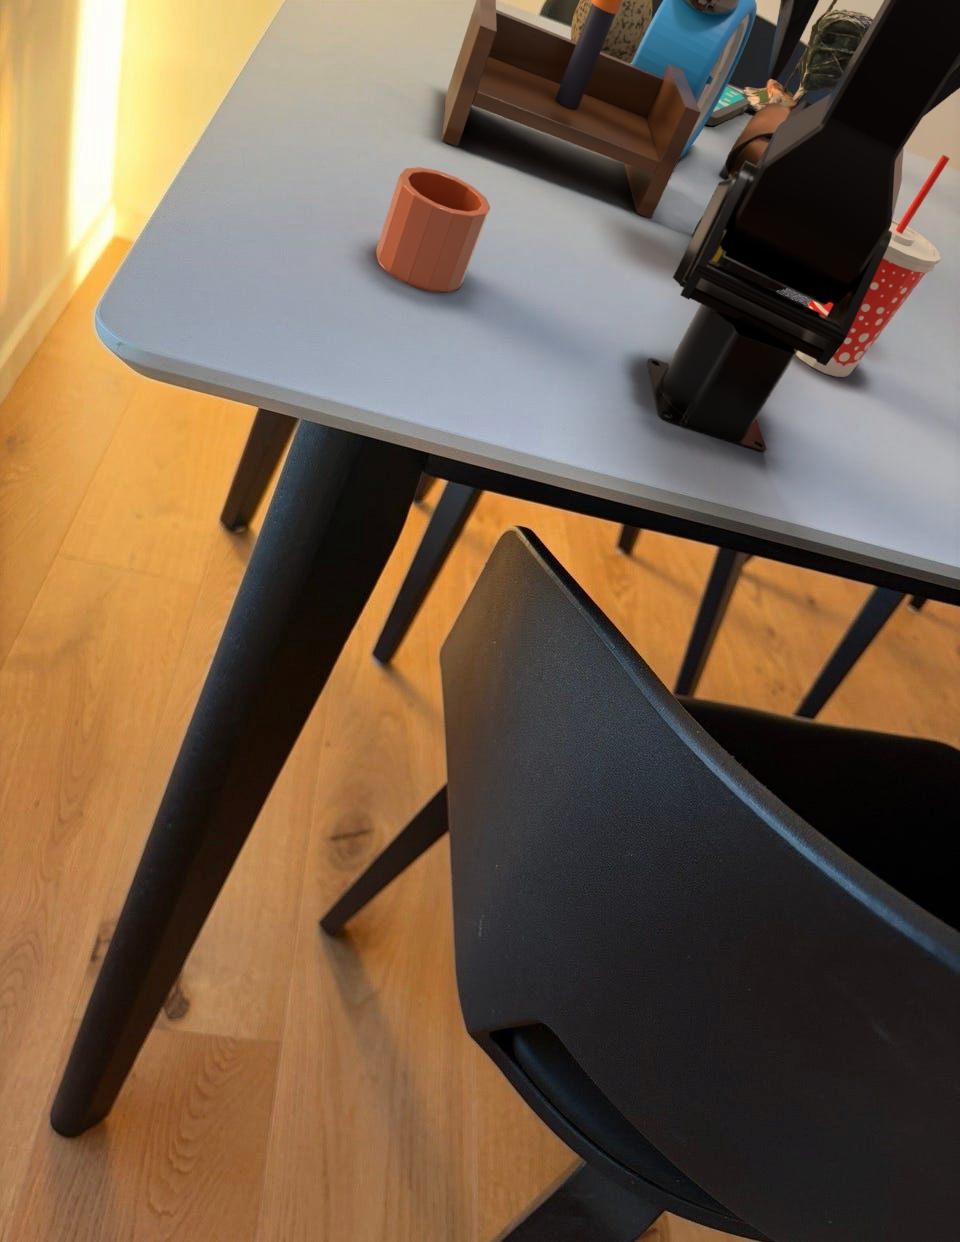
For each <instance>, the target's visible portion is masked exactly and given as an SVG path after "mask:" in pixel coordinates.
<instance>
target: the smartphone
mask: <svg viewBox="0 0 960 1242" xmlns="http://www.w3.org/2000/svg"><path fill="white" fill-rule="evenodd" d="M743 96H744V93H743V92H742V91H739V90H737V89H735V88H734V87H732V86H730V85H728V84H727V86H726V88H725V90H724V92H723V94H722V96H721V98H720V100H719V102H718V103H717V105H716V107H715V109H714V111H713V112H712V114H711V116H710V118H709V119H708V121H707V123H706V124H705V125H708V126H712V127H713V126H717V125H719V124H721V123H723V122H725V121H727V120H729V119H731V118H733V117H735V116H738V115H740V114H742V113H744V112H746V111H748V109H749V108H750V107H751V105H750V103H751V101H749V100H747V99H746V98H744V97H745V96H744V97H743Z"/></svg>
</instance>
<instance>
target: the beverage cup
mask: <svg viewBox="0 0 960 1242" xmlns="http://www.w3.org/2000/svg"><path fill="white" fill-rule="evenodd" d="M949 161H950V157H949V156H946V155H944V154H942V155H941V157H940V159H939V160H938V162H937V163H936V165H935V166H934V167H933V170H932V171H931V173H930V174H929V175H928V178H927V179H926V181H925V182H924V184H923V185H922V187H921V188H920V190H919V192H918V193H917V194H916V196H915V198H914V200H913V201H912V203H911V204H910V206H909V207H908V209H907V211H906V212H905V214H904V215H903V217H902V219H901V220H900V221H898V220H896V219H894V218H893V219H892V223H891V226H890V229H889V230H890V231H891V232H892V237H891V240H890V243H889V245H888V247H887V250H886V252H885V254H884V256H883V259H882V261H881V263H880V265H879V267H878V270H877V272H876V274H875V276H874V278H873V280H872V283H871V285H870V287H869V289H868V291H867V294H866V296H865V298H864V300H863V302H862V304H861V307H860V309H859V311H858V313H857V315H856V318H855V320H854V322H853V324H852V326H851V329H850V331H849V333H848V335H847V337H846V339H845V341H844V342H843V344H842V345H841V346H840V348H839V349H838V350H837V352H836V353H835V354H834V356H833V357H832V358H831V360H830V361H829V362H828V364H827V365H826V366H824V365H822V364H820V363H818V362H816V359H814V358H812V357H810V356H808V355H806V354H804V353H802V352H800V351H798V352H797V353H796V355H795V356H797V357H798V358H799V360H801V361H803V362H804V363H805V364H807V365H808V366H809V367H811V368H813V369H815V370H817V371H819V372H821V373H823V374H826V375H829V376H833V377H836V378H846V377H848V376H850V375H851V373H852V372H853V371H854V370H855V368H856V367H857V365H858V364H859V363H860V361H861V360H862V359H863V357H864V356H865V354H866V353H867V352H868V351H869V350H870V348H871V347H872V345H873V344H874V343H875V341H876V340H877V339H878V337H880V335H881V334H882V332H883V331H884V329H885V328H886V327H887V325H888V324H889V323H890V322H891V320H892V319H893V318H894V316H895V315H896V313H897V312H898V310H900V308H901V307H902V305H904V303H905V301H906V300H907V299H908V297H909V296H910V295H911V294H912V292H913V291H914V290H915V288H916V287H917V285H918V284H919V283H920V282H921V280H922V279H923V277H924V276H925V275H926V274H928V273H930V272H932V271H934V268H935V266H936V265H938V264H939V263H940V262H941V260H942V257H941V252H940V251H939V250H938V249H937V248H936V246H935V245H934V244H933V243H932V242H930V240H928V239H926V238H925V237H924V236H923V235H922V234H920V233H919V232H917V231H915V230H914V229H912V228H910V227H909V224H910V222H911V220H913V217H914V216H915V214H917V211H918V210H919V208H920V206H921V205H922V203H923V202H924V200H925V199H926V197H927V195H928V194H929V192H930V191H931V189H932V188H933V186H934V185H935V183H936V181H937V180H938V178H939V177H940V175H941V174H942V172H943V171H944V170H945V167H946V166H947V164H948V162H949ZM806 306H807V307H809V308H811V309H813V310H815V311H817V312H819V313H821V314H824V315H826V316H827V315H828V313H829V311H830V310H831V308H832V306H833V303H831V302H829V303H827V304H826V305H824V306H823V305H821V304H819V303H817V302H815V301H813V300H811V299H810V300H809V303H808V305H806Z"/></svg>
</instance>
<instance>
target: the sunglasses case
mask: <svg viewBox="0 0 960 1242" xmlns="http://www.w3.org/2000/svg"><path fill="white" fill-rule="evenodd" d="M788 114H789V111H788V110H787V109H786V108H785V107H784V106H783V105H781V104H780V103H776V102H775V103H770V104H768V105H766V106H764V107H762V108H761V109H760V110H759V111H758V110H757V112H756V113H754V115H753V116H752V117H751V118H750V120H749V121H748V123H747V124H746V126H745V127H744V128H743V130H742V132H741V133H740V135H739V136H738V138H737V139H736V141H735V142H734V144H733V146H732V147H731V150H729V153H728V155H727V158H726V160H725V168H726V174H727V175H726V176H727V178H728V179H730V178H732V177H733V175H734V173H735V172H738V173H739V171H740V169H741V167H742V165H743V164H744V162H745V161H748V162H750V163H752V164H754V165H756V166H757V164H758V162H759V160H760V158H761V156H762V155H763V153H764V151H765V149H766V147H767V145H768V144H769V142H770V140H771V138H772V136H773V135H774V133H775V131H776V129H777V127H778V126H779V125H780V124H781V123H782V122H783V121H785V119H786V118H787V116H788Z"/></svg>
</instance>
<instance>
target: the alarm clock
mask: <svg viewBox="0 0 960 1242" xmlns="http://www.w3.org/2000/svg"><path fill="white" fill-rule="evenodd" d="M757 11H758V7H757V2H756V0H662V2H661V3H660V5H659V6H658V9H657V10H656V12H655V14H654V16H652V19H651V23H650V25H649V27H648V29H647V31H646V33H645V35H644V37H643V39H642V41H641V43H640V45H639V47H638V50H637V52H636V54H635V56H634V59H633V61H632V62H631V63H630V64H632V65H635V66H637V67H640V68H642V69H645V70H647V71H650V72H652V73H655V74H657V75H659V76H662V77H663V74H664V72H665V70H666V68H667V65H668V64H671V65H673V66H676V67H678V68H681V69H682V70H683V72H684V75H685V77H686V79H687V82H688V84H689V86H690V89H691V91H692V93H693V96H694V98H695V100H696V103H697V105H698V107H699V110H700V112H701V114H700V116H699V118H698V120H697V122H696V124H695V126H694V129H693V131H692V133H691V135H690V137H689V139H688V141H687V143H686V145H685V148H684V150H683V152H682V154H681V156H680V158H681V157H683V156H684V155H686V153H687V152H688V151H689V150H690V149H691V147H692V146H693V144H694V143H695V142H696V140H697V139H698V137H699V135H700V134H701V132H702V131H703V129H704V127H705V126H706V125H707V124H706V123H707V121H708V119H709V118H710V116H711V114H712V112H713V111H714V109H715V107H716V105H717V103H718V102H719V100H720V98H721V96H722V94H723V92H724V90H725V88H726V86H727V85H728V84H729V82H730V80H731V78H732V76H733V74H734V72H735V69H736V68H737V65H738V63H739V62H740V59H741V56H742V54H743V52H744V50H745V46H746V45H747V42H748V39H749V38H750V34H751V32H752V29H753V26H754V24H755V23H754V22H755V19H756V16H757Z"/></svg>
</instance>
